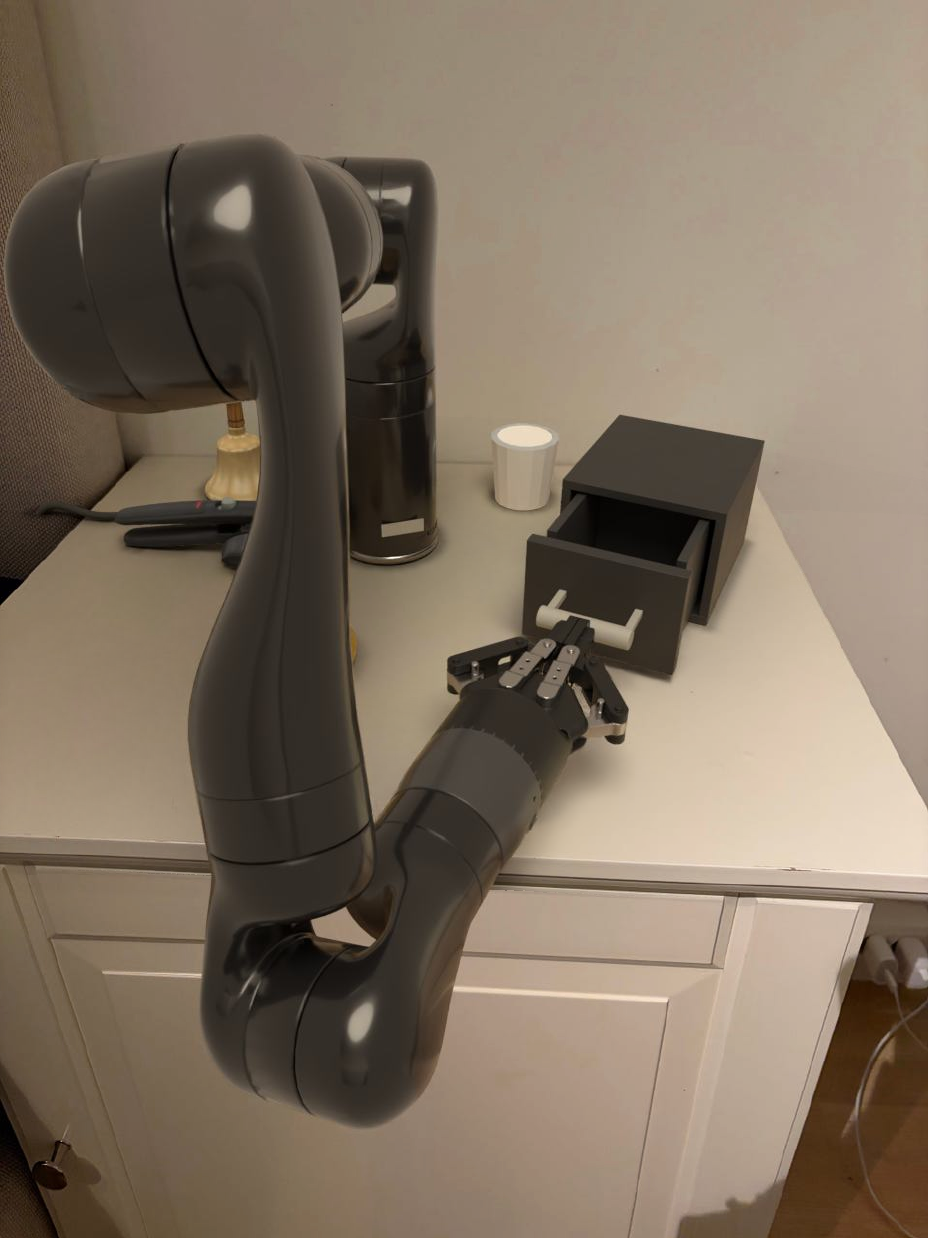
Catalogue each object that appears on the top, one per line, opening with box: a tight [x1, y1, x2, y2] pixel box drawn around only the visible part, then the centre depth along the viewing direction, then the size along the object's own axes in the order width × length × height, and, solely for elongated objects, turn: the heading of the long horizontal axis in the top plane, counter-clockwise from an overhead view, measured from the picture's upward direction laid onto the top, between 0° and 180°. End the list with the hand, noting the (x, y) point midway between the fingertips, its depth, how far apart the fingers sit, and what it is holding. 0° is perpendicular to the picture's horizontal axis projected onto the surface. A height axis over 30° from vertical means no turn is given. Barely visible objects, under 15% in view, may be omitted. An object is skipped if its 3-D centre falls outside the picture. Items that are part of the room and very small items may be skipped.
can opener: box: [114, 497, 256, 570], centre depth 86 cm, size 18×7×6 cm, turn 80°
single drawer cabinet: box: [559, 414, 766, 626], centre depth 83 cm, size 16×14×11 cm
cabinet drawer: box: [521, 491, 716, 677], centre depth 74 cm, size 19×12×9 cm, turn 155°
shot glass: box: [490, 422, 560, 512], centre depth 95 cm, size 7×7×7 cm
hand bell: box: [204, 402, 260, 501], centre depth 93 cm, size 8×8×16 cm
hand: (579, 627), depth 66 cm, fingers closed
